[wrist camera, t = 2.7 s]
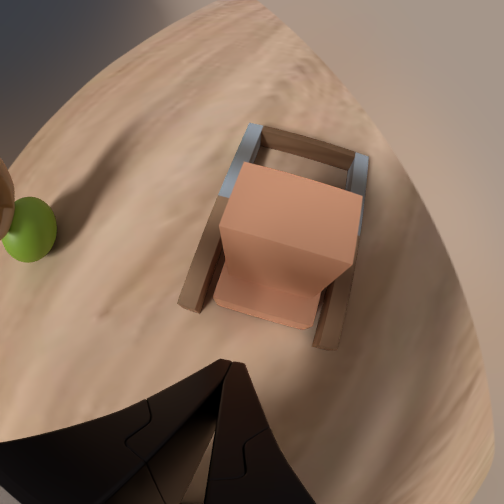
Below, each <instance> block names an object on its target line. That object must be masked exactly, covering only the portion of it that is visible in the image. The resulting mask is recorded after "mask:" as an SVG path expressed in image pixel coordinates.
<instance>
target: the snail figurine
mask: <svg viewBox="0 0 504 504" xmlns="http://www.w3.org/2000/svg"><path fill="white" fill-rule="evenodd" d="M56 233H57V225H56V219H55V216H54V213H53V211H52V210H51V208H50V207H49V206H48V205H47V204H46V203H45V202H44V201H42V200H41V199H39V198H35V197H24V198H21V199H18V200H17V201H15V200H14V184H13V181H12V179H11V176H10V174H9V172H8V170H7V168H6V166H5V164H4V162H3V161H2V159H1V158H0V240H2V242H3V245H4V247H5V249H6V251H7V252H8V253H9V254H10V255H11V256H12V257H13V258H15V259H16V260H18V261H21V262H27V263H29V262H35V261H38V260H40V259H41V258H43V257H44V256H45V255H46V254H47V253H48V252H49V251H50V249H51V248H52V246H53V244H54V241H55V238H56Z"/></svg>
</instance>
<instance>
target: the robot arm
mask: <svg viewBox="0 0 504 504" xmlns="http://www.w3.org/2000/svg"><path fill="white" fill-rule="evenodd" d="M214 432H215V434H214ZM213 434H214V441H213V447H212V454H211V460H210V466H209V473H208V479H207V486H206V492H205V499H204V504H316V503H315V501H314V500H313V498H312V497H311V496H310V494H309V493H308V491H307V490H306V489H305V487H304V486H303V484H302V483H301V481H300V480H299V478H298V477H297V475H296V474H295V473H294V471H293V470H292V468H291V467H290V465H289V464H288V462H287V460H286V459H285V457H284V455H283V454H282V452H281V450H280V448H279V446H278V444H277V442H276V440H275V438H274V435H273V433H272V431H271V429H270V427H269V424H268V422H267V419H266V417H265V414H264V412H263V409H262V407H261V404H260V402H259V399H258V396H257V394H256V391H255V389H254V386H253V384H252V381H251V378H250V376H249V373H248V370H247V368H246V365H245V364H244V363H240V362H231V361H229V360H224V359H219V360H217V361H215V362H213V363H212V364H210V365H208V366H206V367H205V368H203V369H201V370H199V371H198V372H196V373H194V374H192V375H190V376H189V377H187V378H185V379H183V380H181V381H179V382H177V383H176V384H174V385H172V386H170V387H168V388H166V389H164V390H162V391H160V392H159V393H157V394H155V395H153V396H151V397H149V398H147V400H146V399H144V400H142V401H140V402H138V403H136V404H134V405H131V406H129V407H127V408H125V409H123V410H120V411H117V412H115V413H112V414H109V415H106V416H103V417H100V418H97V419H94V420H91V421H87V422H84V423H81V424H77V425H74V426H70V427H67V428H63V429H60V430H56V431H52V432H48V433H44V434H40V435H35V436H31V437H27V438H22V439H17V440H12V441H7V442H0V504H180V502H181V500H182V498H183V496H184V494H185V492H186V490H187V488H188V486H189V484H190V482H191V480H192V478H193V476H194V474H195V472H196V470H197V468H198V465H199V463H200V461H201V459H202V457H203V455H204V453H205V451H206V449H207V447H208V444H209V442H210V440H211V438H212V436H213Z"/></svg>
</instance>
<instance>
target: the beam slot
mask: <svg viewBox="0 0 504 504" xmlns="http://www.w3.org/2000/svg"><path fill="white" fill-rule="evenodd" d="M260 146H264V147H268V148H272V149H275V150H279V151H283V152H287V153H291V154H294V155H298V156H301V157H305V158H308V159H312V160H315V161H319V162H322V163H325V164H328V165H332V166H335V167H338V168H341V169H344V170H347V171H348V175H347V182H346V188H345V190H346V191H349V192H352V193H355V194H358V195H361V196H363V198H362V206H361V214H360V221H359V228H358V235H357V241H356V248H355V254H354V260H353V265H352V266H350V267H349V268H348V269H347V270H346V271H345V272H343V273H342V274H341V275H340V276H339V277H338V278H336V279H335V280H334V281H333V282H332V283H330V284H329V285H328V286H327V288H326V293H325V297H324V301H323V306H322V310H321V314H320V318H319V322H318V326H317V329H316V333H315V337H314V341H313V345H312V347H316V348H320V349H325V350H337V348H338V344H339V340H340V336H341V332H342V327H343V323H344V319H345V314H346V310H347V305H348V300H349V296H350V291H351V286H352V280H353V275H354V270H355V264H356V258H357V252H358V246H359V239H360V232H361V225H362V218H363V210H364V201H365V192H366V182H367V171H368V159H369V157H368V156H365V155H362V154H359V153H356V152H354V151H351V150H348V149H345V148H342V147H338V146H335V145H332V144H329V143H326V142H322V141H319V140H316V139H312V138H309V137H305V136H302V135H298V134H294V133H290V132H287V131H283V130H279V129H275V128H270V127H266V126H262V125H257V124H253V123H249V125H248V127H247V129H246V132H245V134H244V136H243V138H242V141H241V143H240V145H239V147H238V150H237V152H236V154H235V157H234V159H233V161H232V163H231V166H230V168H229V170H228V173H227V175H226V178H225V180H224V182H223V185H222V187H221V190H220V192H219V194H218V197H217V199H216V202H215V204H214V207H213V209H212V212H211V214H210V217H209V219H208V222H207V224H206V227H205V229H204V232H203V234H202V237H201V240H200V242H199V245H198V247H197V250H196V253H195V255H194V258H193V261H192V263H191V266H190V269H189V272H188V274H187V277H186V280H185V283H184V285H183V288H182V291H181V294H180V297H179V299H178V302H177V304H179V305H180V306H181V307H183V308H185V309H188V310H190V311H193V312H196V313H199V314H200V311H201V308H202V305H203V302H204V299H205V296H206V293H207V291H208V288H209V285H210V282H211V279H212V276H213V273H214V270H215V267H216V264H217V262H218V259H219V256H220V253H221V250H222V247H223V244H222V239H221V234H220V229H219V224H220V221H221V219H222V216H223V213H224V211H225V208H226V205H227V203H228V200H229V198H230V195H231V193H232V190H233V188H234V185H235V182H236V180H237V177H238V175H239V172H240V170H241V167H242V165H243V163H244V162H248V163H252V164H253V163H254V161H255V158H256V155H257V153H258V150H259V148H260Z"/></svg>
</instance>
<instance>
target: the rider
mask: <svg viewBox="0 0 504 504" xmlns="http://www.w3.org/2000/svg"><path fill="white" fill-rule="evenodd" d="M362 198H363V196H361V195H358V194H355V193H352V192H349V191H346V190H343V189H340V188H337V187H334V186H330V185H327V184H324V183H321V182H317V181H314V180H311V179H307V178H304V177H300V176H297V175H293V174H290V173H286V172H283V171H279V170H275V169H271V168H268V167H264V166H260V165H256V164H252V163H248V162H244V163H243V165H242V167H241V170H240V172H239V175H238V177H237V180H236V182H235V185H234V188H233V190H232V193H231V195H230V198H229V200H228V203H227V205H226V208H225V211H224V213H223V216H222V219H221V221H220V224H219V229H220V234H221V239H222V244H223V249H224V254H225V259H226V260H225V263H224V266H223V269H222V271H221V274H220V277H219V280H218V283H217V286H216V289H215V292H214V295H213V298H214V300H215V302H216V303H217V305H219V306H222V307H225V308H228V309H232V310H235V311H238V312H242V313H245V314H248V315H252V316H255V317H258V318H262V319H265V320H269V321H272V322H276V323H279V324H283V325H287V326H290V327H294V328H298V329H301V330H304V329H306V328H309V327H312V326H313V323H314V319H315V315H316V311H317V307H318V303H319V299H320V295H321V291H322V290H323V289H324V288H326V287H327V286H328V285H329V284H330V283H332V282H333V281H334V280H335V279H336V278H338V277H339V276H340V275H341V274H342V273H343V272H345V271H346V270H347V269H348V268H349V267H350V266H352V265H353V260H354V254H355V248H356V241H357V235H358V228H359V221H360V214H361V206H362Z"/></svg>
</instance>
